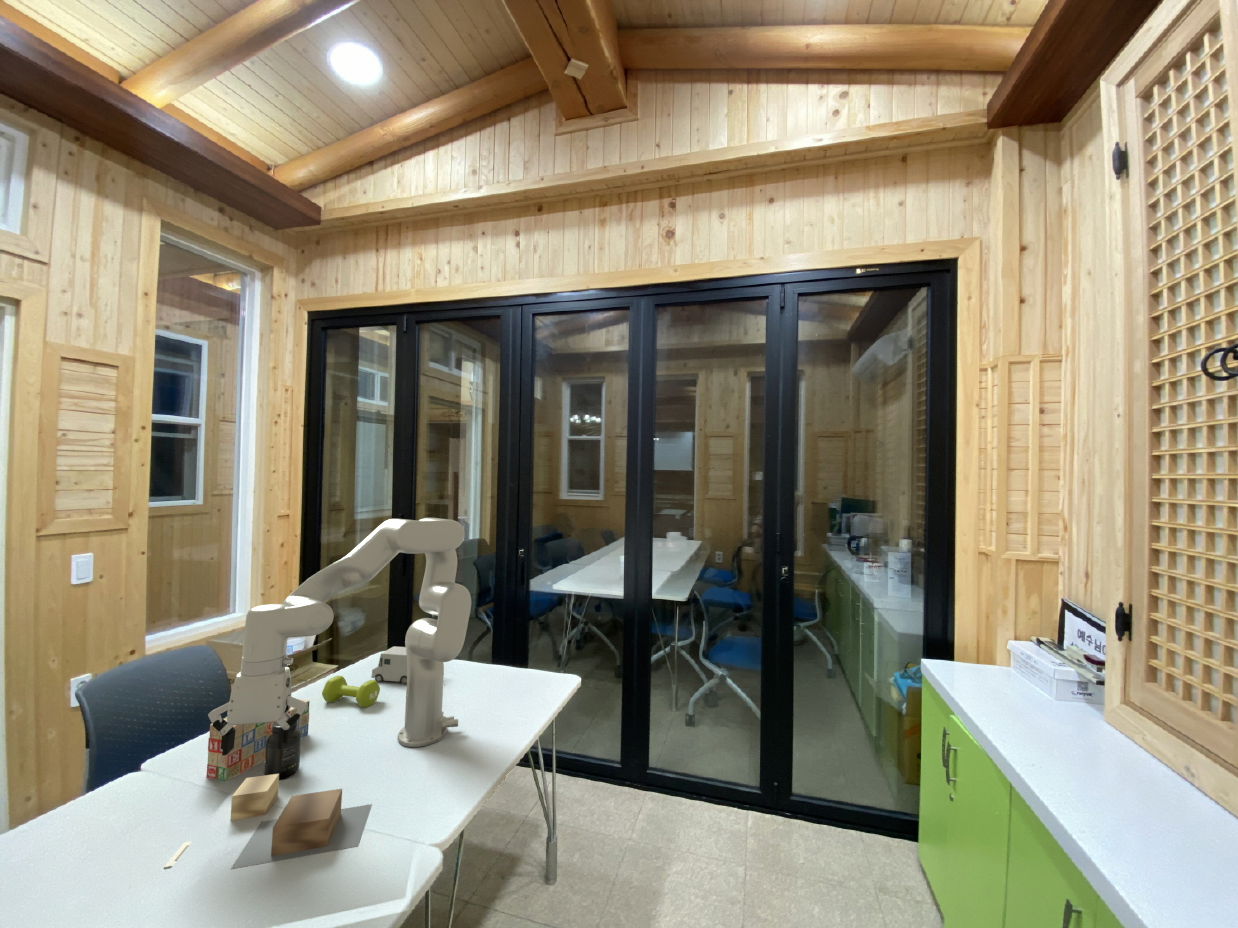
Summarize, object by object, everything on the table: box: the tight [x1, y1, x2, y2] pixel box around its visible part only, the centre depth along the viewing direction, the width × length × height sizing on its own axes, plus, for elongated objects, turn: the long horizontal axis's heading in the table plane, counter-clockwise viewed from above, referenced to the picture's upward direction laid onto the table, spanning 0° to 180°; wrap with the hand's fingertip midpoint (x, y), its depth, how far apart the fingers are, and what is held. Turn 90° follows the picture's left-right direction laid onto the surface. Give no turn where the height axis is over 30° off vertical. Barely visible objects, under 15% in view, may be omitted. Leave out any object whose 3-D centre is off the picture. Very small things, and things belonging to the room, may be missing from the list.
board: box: [230, 803, 373, 870], centre depth 89 cm, size 20×12×1 cm, turn 107°
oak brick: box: [230, 774, 280, 821], centre depth 96 cm, size 6×6×6 cm
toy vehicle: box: [371, 645, 407, 685], centre depth 165 cm, size 9×18×10 cm, turn 84°
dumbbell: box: [321, 675, 381, 709], centre depth 146 cm, size 16×8×7 cm, turn 77°
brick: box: [271, 788, 343, 856], centre depth 90 cm, size 9×9×5 cm
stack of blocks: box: [206, 698, 310, 782], centre depth 117 cm, size 21×6×12 cm, turn 166°
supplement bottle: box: [263, 721, 302, 782], centre depth 110 cm, size 7×7×12 cm
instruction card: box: [163, 840, 193, 869], centre depth 86 cm, size 8×6×1 cm
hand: (255, 749), depth 96 cm, fingers open, 9 cm apart
